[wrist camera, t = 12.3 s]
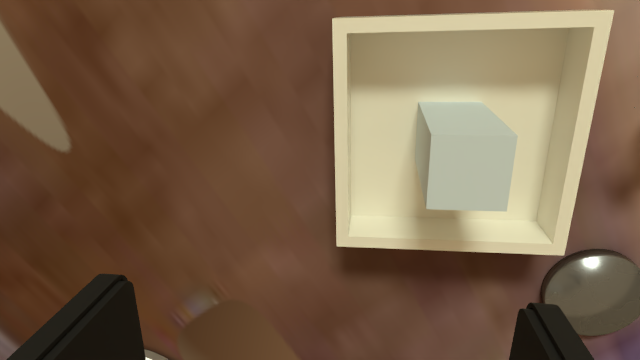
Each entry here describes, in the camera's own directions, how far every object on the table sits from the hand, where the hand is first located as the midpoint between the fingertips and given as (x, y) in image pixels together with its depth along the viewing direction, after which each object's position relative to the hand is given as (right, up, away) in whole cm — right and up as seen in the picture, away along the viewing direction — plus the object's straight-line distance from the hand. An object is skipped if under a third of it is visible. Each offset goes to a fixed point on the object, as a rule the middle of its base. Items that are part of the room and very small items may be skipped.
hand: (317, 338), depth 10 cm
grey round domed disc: (+21, -4, +22) cm, 30 cm away
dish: (+9, +7, +19) cm, 22 cm away
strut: (+9, +7, +18) cm, 21 cm away
